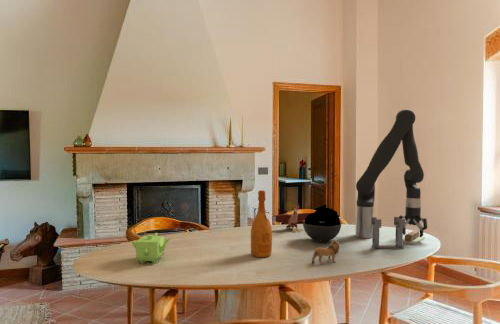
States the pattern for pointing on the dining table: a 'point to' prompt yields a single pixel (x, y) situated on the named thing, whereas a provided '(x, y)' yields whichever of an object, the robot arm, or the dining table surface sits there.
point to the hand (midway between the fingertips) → (412, 235)
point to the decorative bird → (291, 218)
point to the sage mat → (413, 240)
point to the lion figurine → (327, 252)
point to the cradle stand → (399, 233)
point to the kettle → (150, 248)
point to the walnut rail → (411, 236)
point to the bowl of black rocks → (322, 224)
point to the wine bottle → (261, 230)
